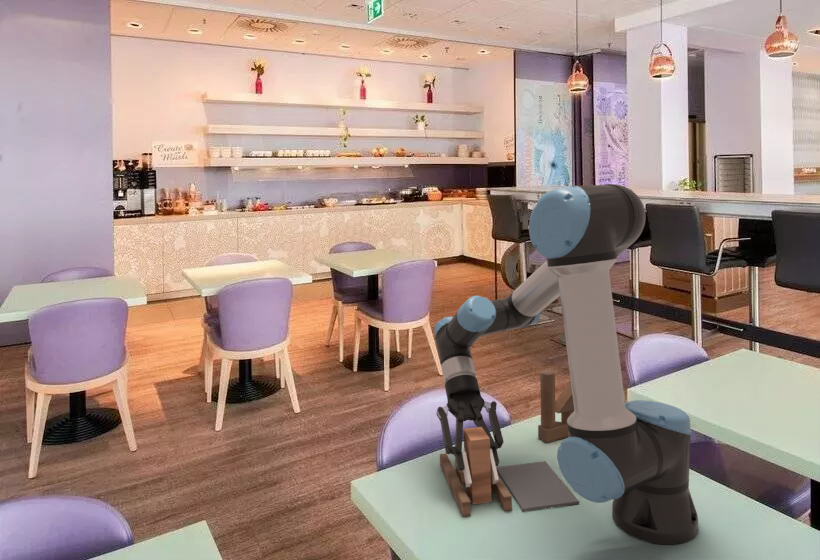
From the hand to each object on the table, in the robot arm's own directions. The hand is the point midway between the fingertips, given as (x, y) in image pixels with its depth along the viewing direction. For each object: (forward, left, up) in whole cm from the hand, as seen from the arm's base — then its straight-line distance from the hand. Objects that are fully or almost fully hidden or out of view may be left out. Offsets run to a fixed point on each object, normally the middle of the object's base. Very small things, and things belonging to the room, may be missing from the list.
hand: (482, 483), depth 120 cm
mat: (+5, -13, -5) cm, 15 cm away
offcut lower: (+12, 0, -5) cm, 13 cm away
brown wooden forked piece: (+27, -28, -5) cm, 39 cm away
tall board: (+4, 0, -5) cm, 6 cm away
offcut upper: (+12, 0, -3) cm, 12 cm away
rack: (+8, 0, -5) cm, 9 cm away
